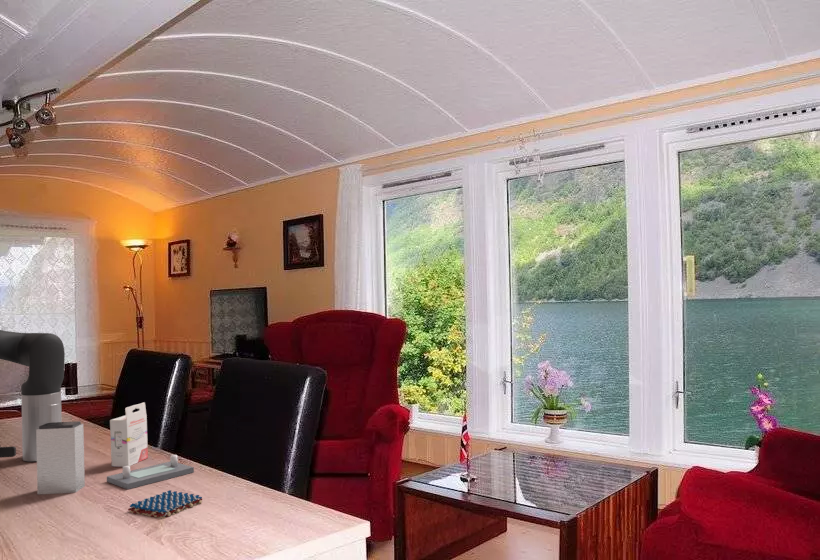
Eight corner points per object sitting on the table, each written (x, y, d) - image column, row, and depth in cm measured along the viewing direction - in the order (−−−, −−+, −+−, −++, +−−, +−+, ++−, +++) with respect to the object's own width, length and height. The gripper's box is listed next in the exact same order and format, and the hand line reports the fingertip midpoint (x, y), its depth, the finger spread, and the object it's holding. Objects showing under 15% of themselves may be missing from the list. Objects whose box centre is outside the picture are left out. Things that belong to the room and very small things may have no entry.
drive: (47, 488, 143) (46, 422, 144) (84, 486, 144) (83, 420, 144) (37, 494, 139) (36, 426, 139) (75, 492, 140) (74, 425, 140)
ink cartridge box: (131, 457, 169) (130, 401, 169) (148, 458, 168) (147, 401, 168) (110, 466, 160) (108, 407, 161) (127, 467, 159) (126, 407, 160)
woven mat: (125, 515, 125) (124, 504, 125) (168, 498, 135) (168, 489, 135) (162, 522, 121) (162, 511, 121) (205, 505, 130) (204, 495, 130)
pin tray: (127, 489, 140) (127, 472, 141) (106, 481, 147) (106, 465, 147) (193, 472, 153) (193, 456, 153) (171, 465, 159) (171, 450, 159)
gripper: (-97, 450, 132) (-15, 446, 134) (-53, 435, 147) (21, 432, 148) (-97, 487, 132) (-14, 483, 134) (-53, 468, 146) (22, 464, 148)
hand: (4, 456), depth 141 cm, fingers open, 8 cm apart
